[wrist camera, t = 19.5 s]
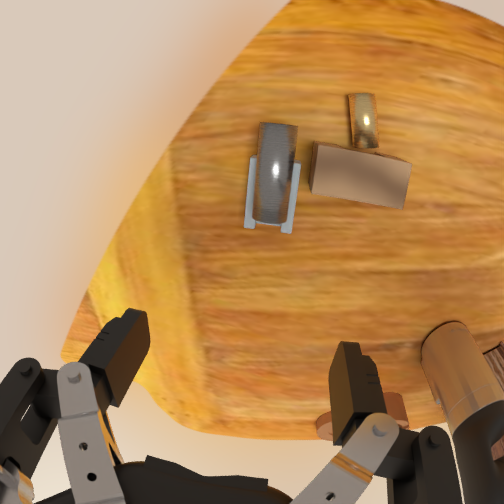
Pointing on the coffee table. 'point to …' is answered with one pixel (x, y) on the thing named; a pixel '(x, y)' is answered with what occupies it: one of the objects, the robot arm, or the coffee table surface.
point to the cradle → (249, 221)
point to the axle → (274, 172)
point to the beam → (358, 175)
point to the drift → (364, 120)
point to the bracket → (393, 409)
